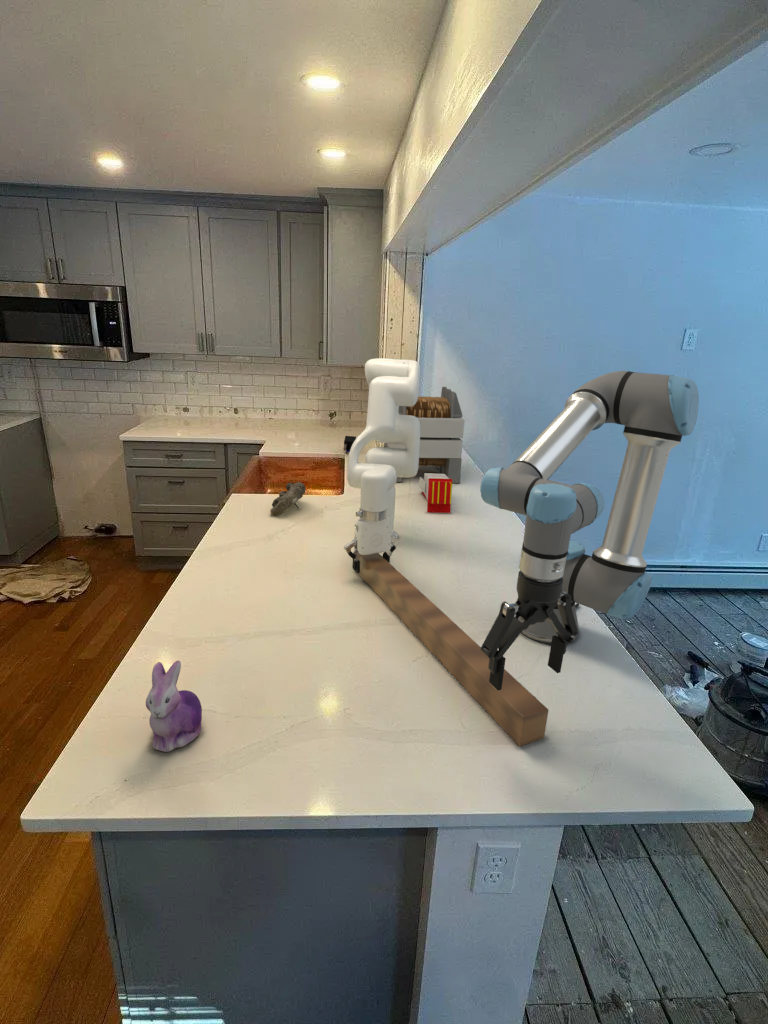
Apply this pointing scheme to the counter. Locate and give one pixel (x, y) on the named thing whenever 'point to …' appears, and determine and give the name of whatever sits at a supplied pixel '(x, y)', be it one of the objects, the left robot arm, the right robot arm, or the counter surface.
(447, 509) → the toy
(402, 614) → the post
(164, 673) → the figurine
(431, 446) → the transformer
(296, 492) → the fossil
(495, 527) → the counter surface
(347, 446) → the figurine character
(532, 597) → the right robot arm
